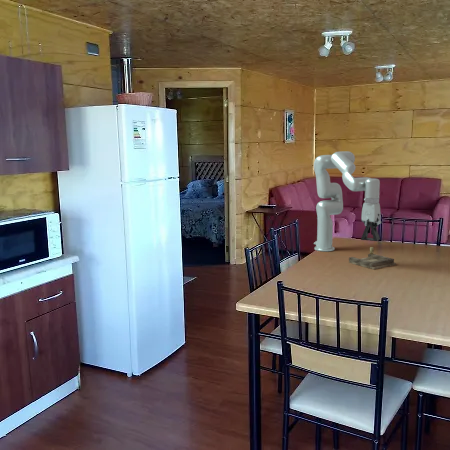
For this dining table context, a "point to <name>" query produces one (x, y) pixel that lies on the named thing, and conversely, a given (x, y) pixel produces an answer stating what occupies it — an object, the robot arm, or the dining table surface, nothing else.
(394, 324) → the dining table surface
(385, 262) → the board
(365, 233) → the phone stand
